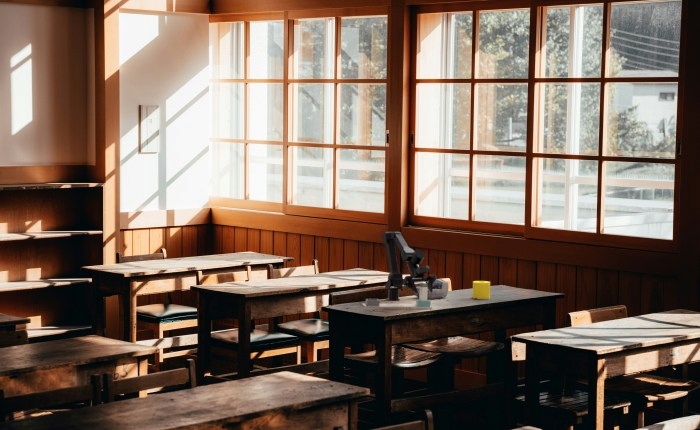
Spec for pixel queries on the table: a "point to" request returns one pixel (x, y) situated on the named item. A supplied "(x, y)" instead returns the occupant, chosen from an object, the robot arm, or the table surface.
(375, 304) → the panel
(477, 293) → the yellow cube
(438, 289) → the grey armchair
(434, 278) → the robot arm
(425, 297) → the plug
